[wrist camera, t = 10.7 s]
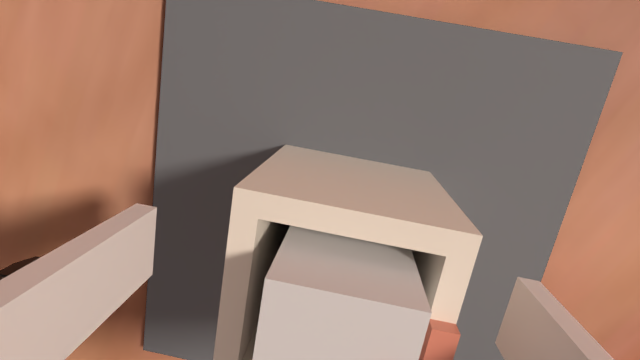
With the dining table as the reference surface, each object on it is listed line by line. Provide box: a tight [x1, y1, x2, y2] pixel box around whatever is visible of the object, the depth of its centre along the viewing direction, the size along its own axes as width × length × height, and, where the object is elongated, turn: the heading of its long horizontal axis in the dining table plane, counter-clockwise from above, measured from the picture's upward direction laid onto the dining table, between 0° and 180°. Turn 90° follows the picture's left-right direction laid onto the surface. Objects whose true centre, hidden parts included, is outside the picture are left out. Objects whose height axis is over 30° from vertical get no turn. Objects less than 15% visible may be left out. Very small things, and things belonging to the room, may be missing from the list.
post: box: [143, 0, 623, 360], centre depth 14 cm, size 20×20×11 cm
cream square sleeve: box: [213, 145, 483, 360], centre depth 15 cm, size 7×7×8 cm
